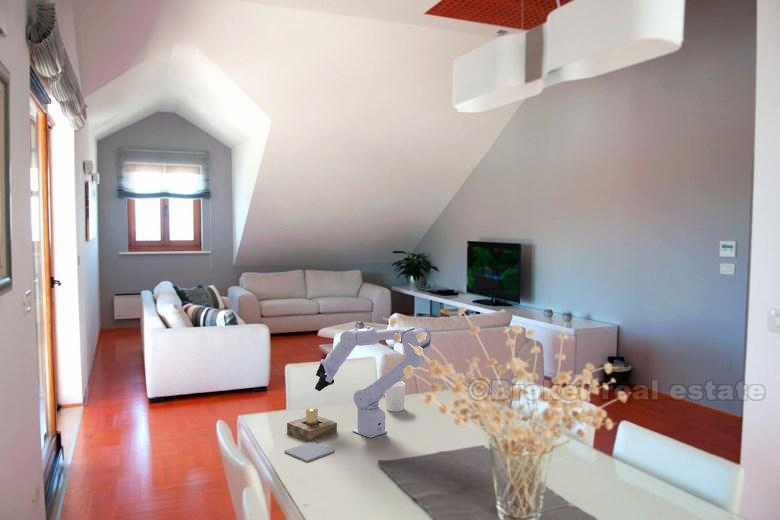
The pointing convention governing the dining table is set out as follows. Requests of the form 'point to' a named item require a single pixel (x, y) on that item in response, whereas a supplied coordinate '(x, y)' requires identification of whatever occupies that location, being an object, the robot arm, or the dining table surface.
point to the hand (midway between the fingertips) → (317, 382)
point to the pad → (309, 451)
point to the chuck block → (311, 428)
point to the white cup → (395, 397)
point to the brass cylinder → (311, 416)
